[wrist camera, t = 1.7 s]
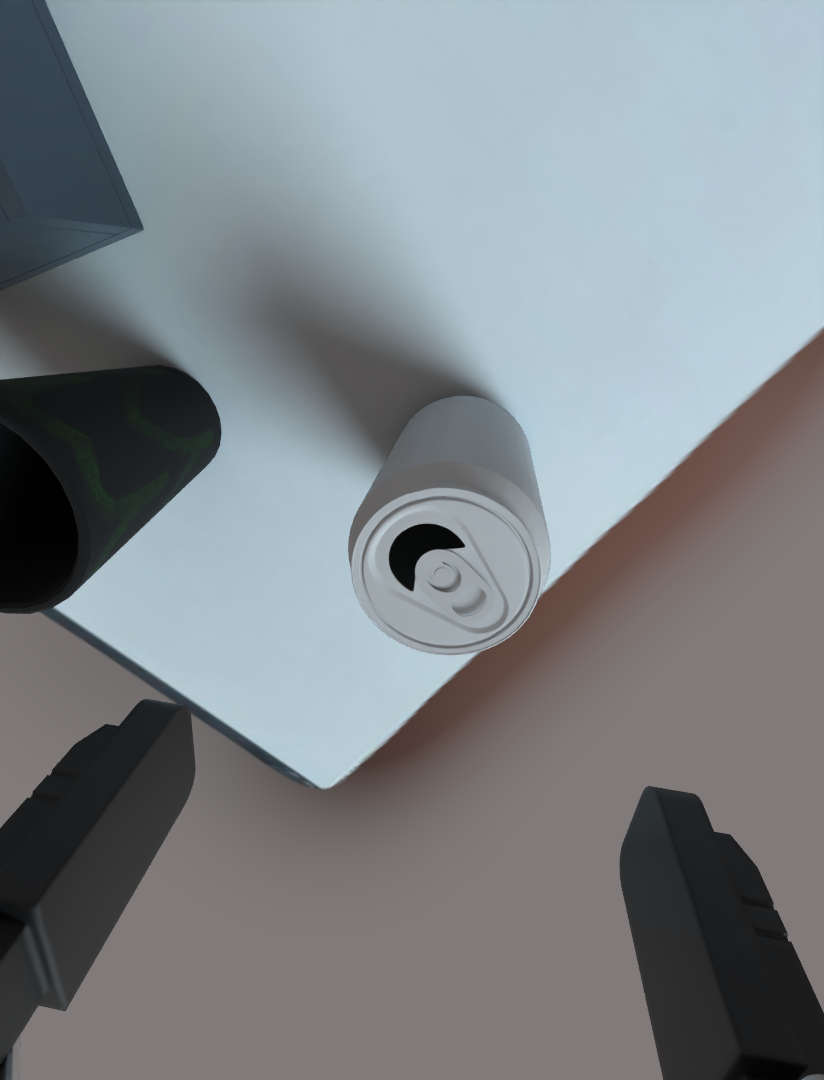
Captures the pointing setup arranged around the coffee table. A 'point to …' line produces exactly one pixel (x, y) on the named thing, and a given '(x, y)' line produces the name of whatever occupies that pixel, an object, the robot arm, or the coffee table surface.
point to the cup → (90, 470)
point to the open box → (51, 154)
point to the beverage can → (452, 531)
